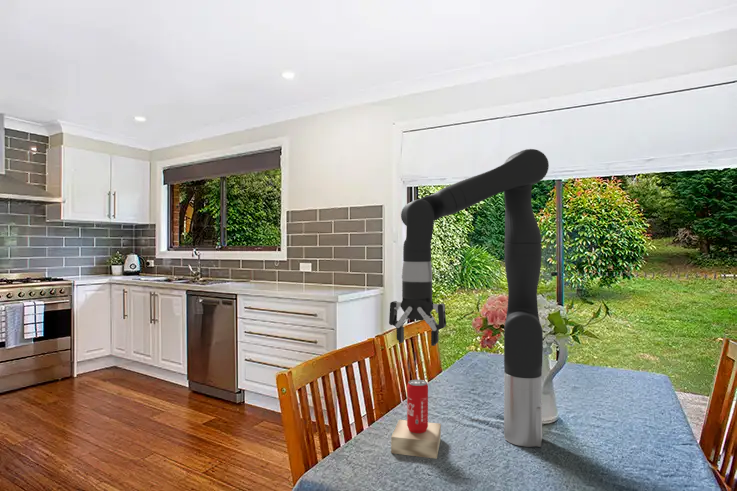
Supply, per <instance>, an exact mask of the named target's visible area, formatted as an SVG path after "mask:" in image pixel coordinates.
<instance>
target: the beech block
mask: <svg viewBox="0 0 737 491" xmlns="http://www.w3.org/2000/svg"><path fill="white" fill-rule="evenodd" d="M441 426H442V424H441V423H438V422H437V423H436V422H429V421H428V427H427V429H426V432H425V433H421V434H416V433H412V432H410V431H409V428H408V426H407V419H398V421H397V423H396V425H395V427H394V430H393V432H392V434H391V437H390V445H391V446H390V447H391V448H390V449H391V450H390V454H395V455H403V456H412V457H420V458H428V459H436V460H437V459H438V455H439V451H440V450H439V448H440V446H441V445H440V444H441V436H442V430H441V429H442V428H441Z"/></svg>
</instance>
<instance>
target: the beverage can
mask: <svg viewBox="0 0 737 491" xmlns="http://www.w3.org/2000/svg"><path fill="white" fill-rule="evenodd" d="M406 385H407V388H406V389H407V391H406V392H407V393H406V394H407V395H406V396H407V397H406V403H407V404H406V406H407V408H406V411H407V412H406V420H407V426H408V428H409V431H410V432H412V433H416V434H421V433H425V432H426V429H427V427H428V422H429V385H428V381H426V380H424V379H411V380H409V381H408V383H407V384H406Z"/></svg>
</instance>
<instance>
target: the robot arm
mask: <svg viewBox="0 0 737 491" xmlns="http://www.w3.org/2000/svg"><path fill="white" fill-rule="evenodd" d="M549 168H550V166H549V160H548V157H547V156H546V155H545V153H544V152H542V151H541V150H538V149H533V148H529V149H527V148H526V149H523V150H520V151H519V152H516V153H514V154H512V155H510V156H509V157H507V158H506V160H505V161H504V162H503V164H501V165H499V166H497V167H495V168H493V169H491V170H488V171H486V172H482V173H480V174H477V175H474V176H472V177H468V178H466V179H463V180H460V181H457V182H455V183H453V184H450V185H448V186H445V187H444V188H442V189H440V190H438V191H436V192H433V193H432V194H429V195H427V196H424V197H421V198H418V199H414V200H411V202H408V203H406V204H405V205H404V206H403V208H402V210H401V212H400V218H401V221H402V223H403V225H405V227H406V235H405V236H406V237H405V240H404V242H403V246H402V250H403V251H402V255H403V256H402V258H403V259H402V261H403V263H402V271H401V272H402V274H401V284H402V285H401V289H402V290H401V291H402V294H401V298H402V300H401V301H397V300H393V301H391V302H390V303H389V315H388V316H389V317H388V318H389V319H388V320H389V321H388V323H389V325H390V326H394V327H395V328H396V329H395V330H396V341H398V343H399V344H402V343H404V341H405V327H404V325H405V324H406V322H407V321H409V320H410V321H415V320H417V321H421V322H422V321H425V323H426V324H427V325H428V326H429V327H430V329H431V331H430V345H431V347H432V346H433V347H435V346H436V345H437V344H439V340H440V339H439V336H440V335H439V332H440V330H441V329H444V328H446V327H447V317H446V316H447V315H446V305H445V303H443V302H441V303H439V304H438V303H433V268H432V237H433V232H434V225H435V221H436V220H438V219H441V218H444V217H447V216H451V215H454V214H457V213H458V212H459V213H460V212H462V211H464V210H465V209H467V208H471V207H472V206H474V205H477V204H479V203H481V202H483V201H485V200H487V199H489V198H492V197H494V196H496V195H498V194H500V193H503V195H504V196H503V197H504V211H505V212H504V265H505V275H506V282H507V290H508V296H507V298H508V299H507V306H506V308H507V309H506V317H505V321H504V329H503V331H504V332H503V350H504V352H503V354H504V355H503V365H504V366H503V368H504V369H503V371H504V372H503V374H504V375H503V377H504V378H503V379H504V380H503V381H504V382H503V386H504V387H503V390H504V391H503V394H504V395H503V438H504V440H506V442H508V443H510V444H512V445H516V446H519V447H525V448H526V447H527V448H528V447H531V448H532V447H539V448H541V447H542V440H543V402H542V400H543V399H542V393H543V392H542V391H543V390H542V388H543V387H542V382H543V381H542V377H543V376H542V374H543V372H542V371H543V353H544V352H543V351H544V350H543V344H544V342H543V339H544V338H543V336H544V334H543V327H542V324H541V321H540V317H539V316H540V314H539V307H538V306H539V305H538V287H539V281H540V280H539V279H540V276H541V267H542V252H543V251H542V250H543V249H542V246H543V245H542V241H543V240H542V233H541V230H540V227H539V224H538V222H537V219H536V217H535V214H534V211H533V207H532V190H533V189H532V187H533V185H536V184H537V183H540V182H541V181H542V180H543V179H544V178H545V177H547V176H546V175H547V173H548V171H549ZM400 308H401V310H402V311H403V314H402V315H401V316H400V318H399V320H398V311H399V310H400ZM433 310H435V313H437V314H438V315H437V316H438V317H437V319H438V322H437V321H436V320H435V317H434V316H433V315H432V312H433Z"/></svg>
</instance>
